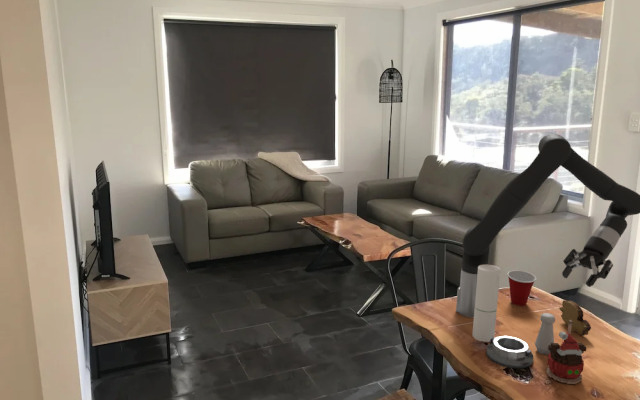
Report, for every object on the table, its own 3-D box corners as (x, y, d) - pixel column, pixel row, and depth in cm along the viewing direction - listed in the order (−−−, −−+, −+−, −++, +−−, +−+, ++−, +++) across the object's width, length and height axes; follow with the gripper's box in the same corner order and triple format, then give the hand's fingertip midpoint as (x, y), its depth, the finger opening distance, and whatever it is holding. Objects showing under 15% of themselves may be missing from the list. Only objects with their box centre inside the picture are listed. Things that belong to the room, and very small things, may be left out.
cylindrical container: (494, 334, 177) (500, 266, 172) (493, 343, 171) (500, 273, 165) (472, 330, 180) (478, 263, 174) (471, 339, 173) (477, 270, 168)
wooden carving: (594, 339, 174) (598, 312, 172) (582, 340, 173) (585, 313, 171) (564, 318, 190) (567, 293, 188) (553, 319, 189) (556, 294, 187)
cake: (572, 368, 156) (580, 313, 152) (589, 385, 147) (597, 328, 143) (538, 368, 156) (545, 314, 152) (553, 385, 147) (560, 328, 143)
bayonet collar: (478, 357, 162) (479, 344, 161) (497, 341, 172) (498, 329, 171) (522, 373, 153) (524, 360, 152) (539, 356, 163) (540, 343, 162)
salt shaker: (555, 357, 162) (560, 319, 160) (536, 355, 163) (540, 317, 161) (551, 348, 168) (555, 311, 165) (532, 346, 169) (536, 310, 166)
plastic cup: (514, 309, 197) (517, 280, 195) (499, 298, 207) (501, 271, 205) (539, 307, 199) (542, 279, 197) (523, 296, 210) (526, 269, 207)
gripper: (578, 230, 173) (552, 268, 170) (618, 241, 161) (591, 281, 158) (586, 243, 177) (561, 280, 174) (627, 255, 164) (600, 294, 162)
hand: (575, 281), depth 166 cm, fingers open, 8 cm apart
